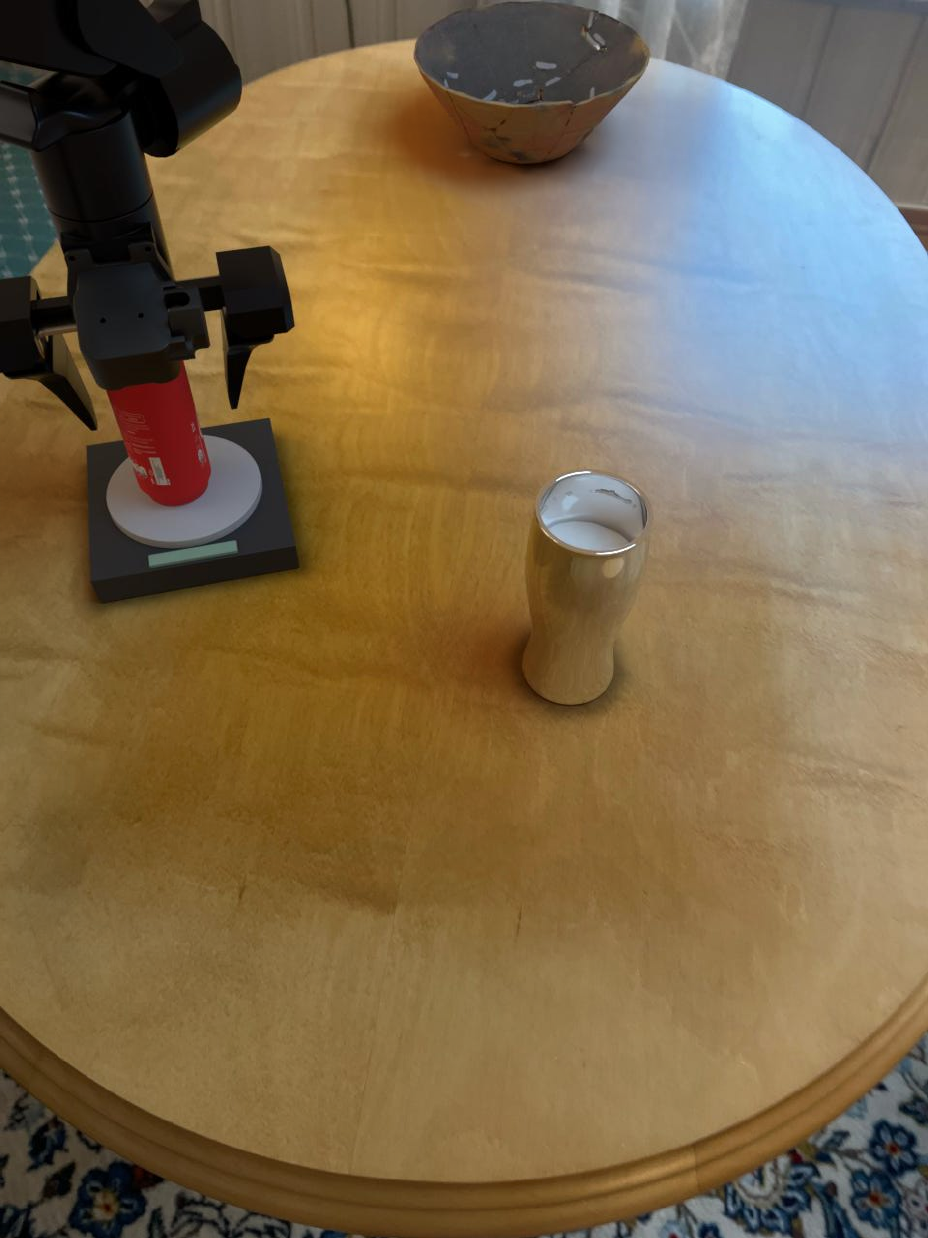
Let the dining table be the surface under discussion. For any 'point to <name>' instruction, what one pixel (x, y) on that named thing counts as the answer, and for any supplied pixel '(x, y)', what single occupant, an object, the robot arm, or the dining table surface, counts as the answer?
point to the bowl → (529, 74)
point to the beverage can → (163, 439)
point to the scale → (189, 518)
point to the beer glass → (582, 579)
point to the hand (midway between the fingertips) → (164, 416)
